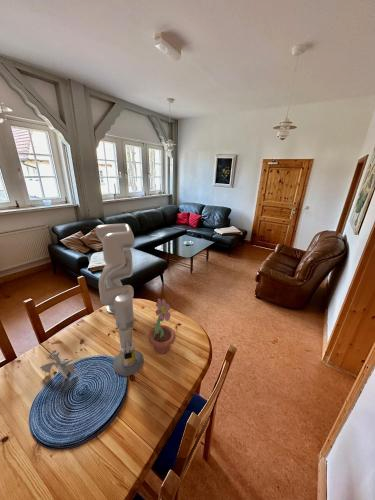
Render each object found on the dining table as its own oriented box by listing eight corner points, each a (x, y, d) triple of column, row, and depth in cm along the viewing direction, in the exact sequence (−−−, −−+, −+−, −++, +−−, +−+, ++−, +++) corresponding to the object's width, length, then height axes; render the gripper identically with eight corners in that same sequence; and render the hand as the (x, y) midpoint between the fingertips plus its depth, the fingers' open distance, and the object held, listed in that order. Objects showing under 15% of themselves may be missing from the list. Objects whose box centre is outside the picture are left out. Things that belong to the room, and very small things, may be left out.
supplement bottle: (137, 355, 102) (136, 336, 97) (132, 367, 95) (131, 347, 91) (124, 354, 102) (122, 334, 97) (118, 366, 96) (116, 345, 91)
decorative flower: (170, 364, 99) (171, 314, 88) (143, 358, 101) (141, 309, 90) (177, 340, 113) (179, 294, 101) (154, 335, 115) (153, 290, 104)
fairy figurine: (71, 391, 83) (47, 371, 77) (48, 384, 92) (25, 366, 86) (88, 367, 90) (67, 347, 84) (65, 362, 99) (45, 345, 93)
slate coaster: (112, 354, 103) (112, 353, 102) (141, 347, 107) (141, 346, 107) (113, 380, 90) (113, 378, 90) (145, 371, 95) (145, 369, 95)
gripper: (115, 309, 95) (118, 338, 102) (116, 337, 80) (120, 368, 87) (131, 307, 98) (133, 335, 105) (136, 333, 83) (137, 364, 90)
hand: (127, 350), depth 96 cm, fingers open, 8 cm apart
